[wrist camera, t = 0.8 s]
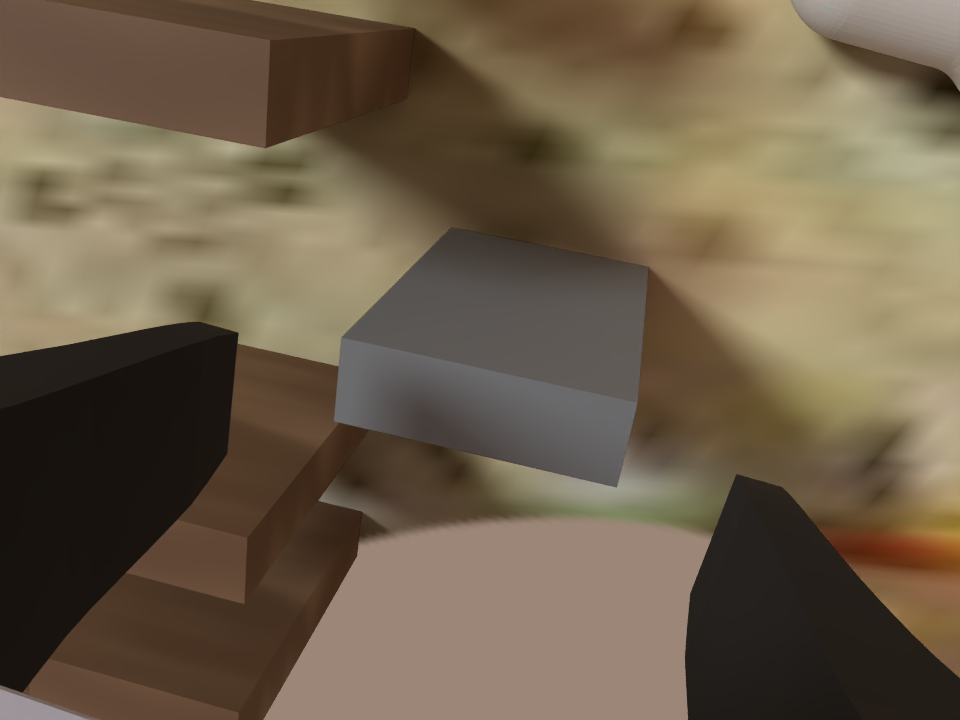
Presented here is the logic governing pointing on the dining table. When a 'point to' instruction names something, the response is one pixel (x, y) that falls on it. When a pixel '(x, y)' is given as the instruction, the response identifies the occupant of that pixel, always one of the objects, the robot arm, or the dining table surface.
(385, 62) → the domino
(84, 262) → the dining table surface
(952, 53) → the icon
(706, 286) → the dining table surface
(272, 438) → the domino
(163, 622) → the domino
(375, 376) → the loose domino
